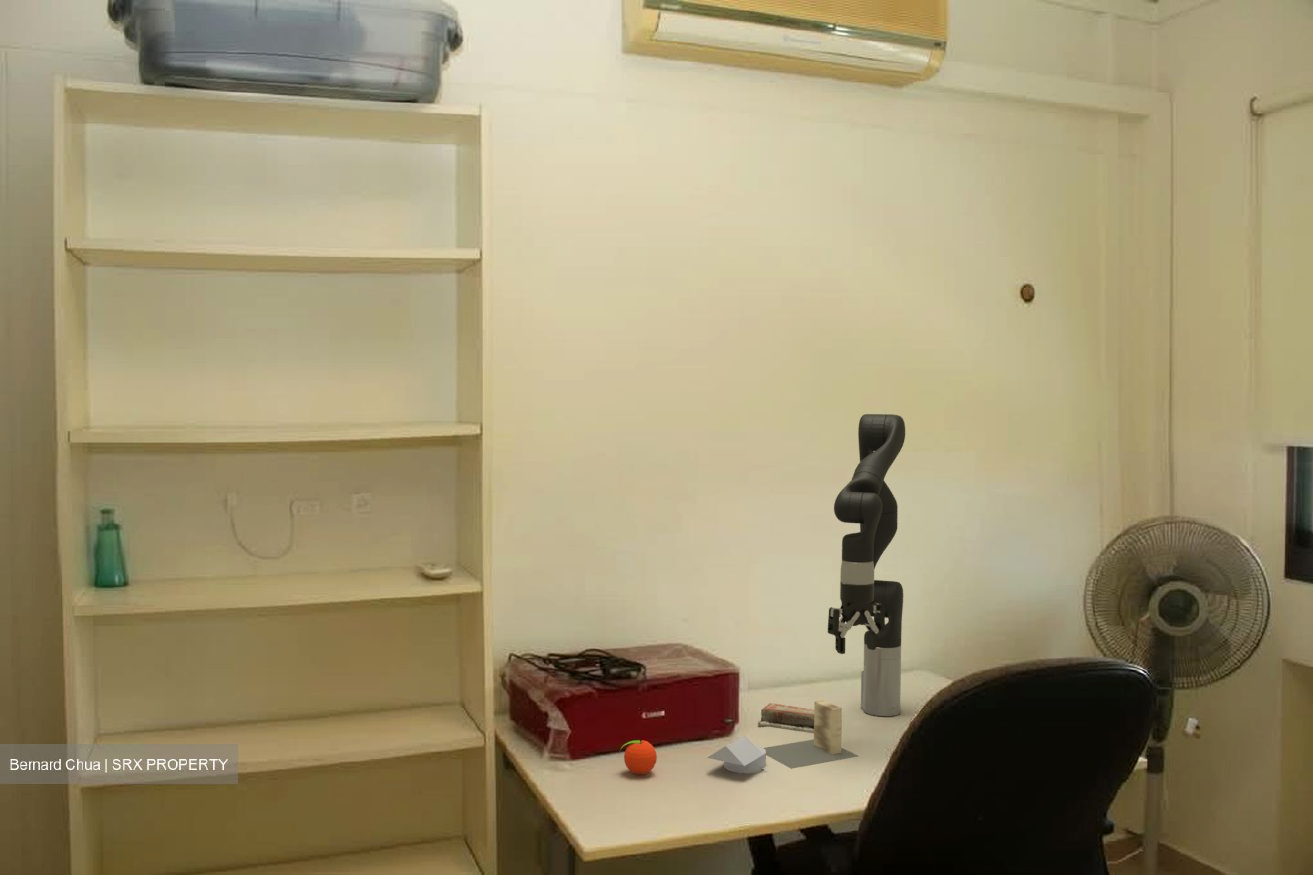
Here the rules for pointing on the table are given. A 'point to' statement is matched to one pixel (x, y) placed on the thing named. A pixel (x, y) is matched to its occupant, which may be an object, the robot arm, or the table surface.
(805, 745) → the mat
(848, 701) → the table surface
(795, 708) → the packaged product
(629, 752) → the clementine
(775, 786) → the table surface
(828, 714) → the birch tile
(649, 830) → the table surface
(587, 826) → the table surface
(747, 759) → the wedge on round base
